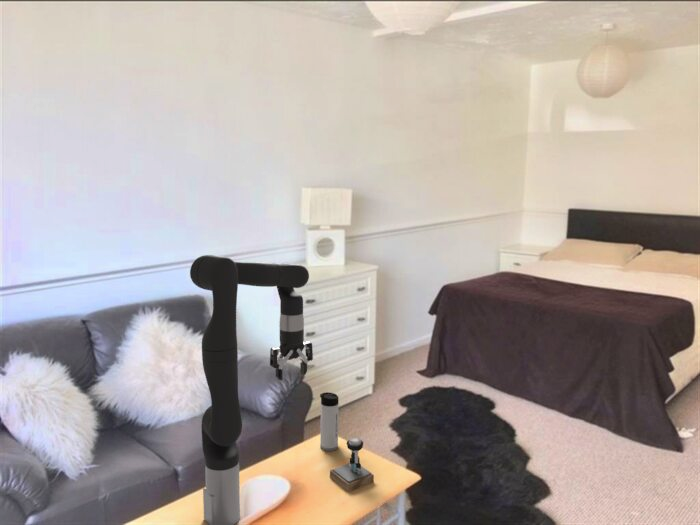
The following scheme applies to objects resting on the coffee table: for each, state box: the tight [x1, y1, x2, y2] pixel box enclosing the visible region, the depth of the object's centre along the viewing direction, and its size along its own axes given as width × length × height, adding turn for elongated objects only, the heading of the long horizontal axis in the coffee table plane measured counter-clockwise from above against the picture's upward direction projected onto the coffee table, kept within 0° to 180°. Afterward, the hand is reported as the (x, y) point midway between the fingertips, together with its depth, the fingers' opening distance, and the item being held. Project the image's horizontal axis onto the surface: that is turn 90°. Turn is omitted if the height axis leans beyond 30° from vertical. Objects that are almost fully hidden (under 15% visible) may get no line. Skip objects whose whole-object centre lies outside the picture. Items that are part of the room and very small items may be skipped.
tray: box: [329, 462, 375, 493], centre depth 180 cm, size 10×10×3 cm
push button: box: [346, 436, 364, 474], centre depth 180 cm, size 7×5×10 cm
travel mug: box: [319, 392, 340, 452], centre depth 200 cm, size 6×7×20 cm
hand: (291, 376), depth 178 cm, fingers open, 8 cm apart
